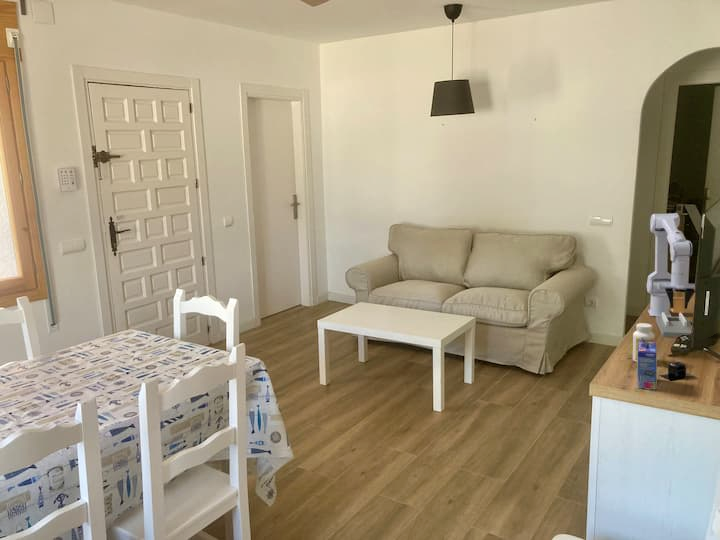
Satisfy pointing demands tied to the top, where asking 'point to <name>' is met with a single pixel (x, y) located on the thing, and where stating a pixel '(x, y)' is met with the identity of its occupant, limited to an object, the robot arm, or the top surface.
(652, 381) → the ink cartridge box
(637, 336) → the supplement bottle
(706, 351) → the top surface
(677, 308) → the orange block
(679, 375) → the black block
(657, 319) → the channel deck
